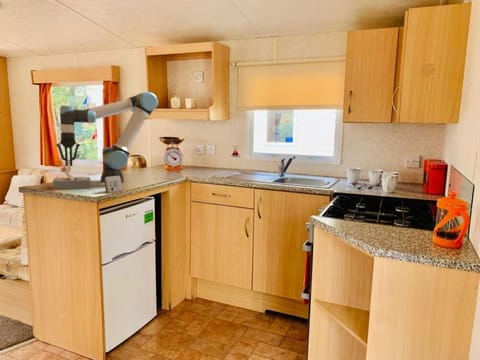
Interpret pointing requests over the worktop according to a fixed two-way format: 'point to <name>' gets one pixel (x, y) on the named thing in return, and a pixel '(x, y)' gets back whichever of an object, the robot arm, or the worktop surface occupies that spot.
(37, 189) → the worktop surface
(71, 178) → the breaker lever
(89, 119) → the robot arm
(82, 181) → the box
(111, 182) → the electrical switch
